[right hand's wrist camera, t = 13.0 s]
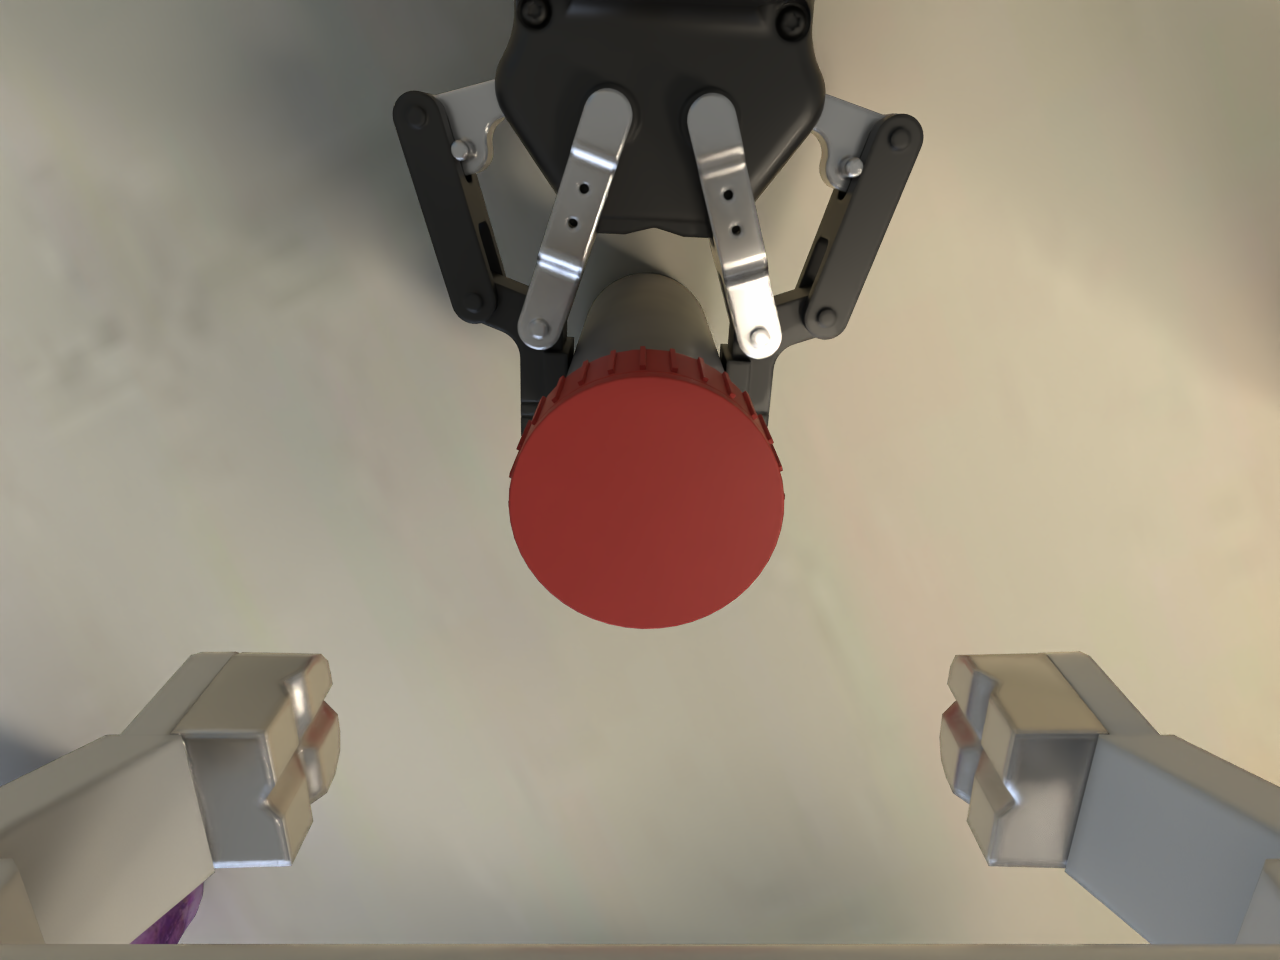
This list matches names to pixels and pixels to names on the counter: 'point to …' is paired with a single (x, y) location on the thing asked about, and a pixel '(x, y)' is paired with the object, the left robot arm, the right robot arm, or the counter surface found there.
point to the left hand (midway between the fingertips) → (643, 464)
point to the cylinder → (645, 321)
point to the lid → (646, 490)
